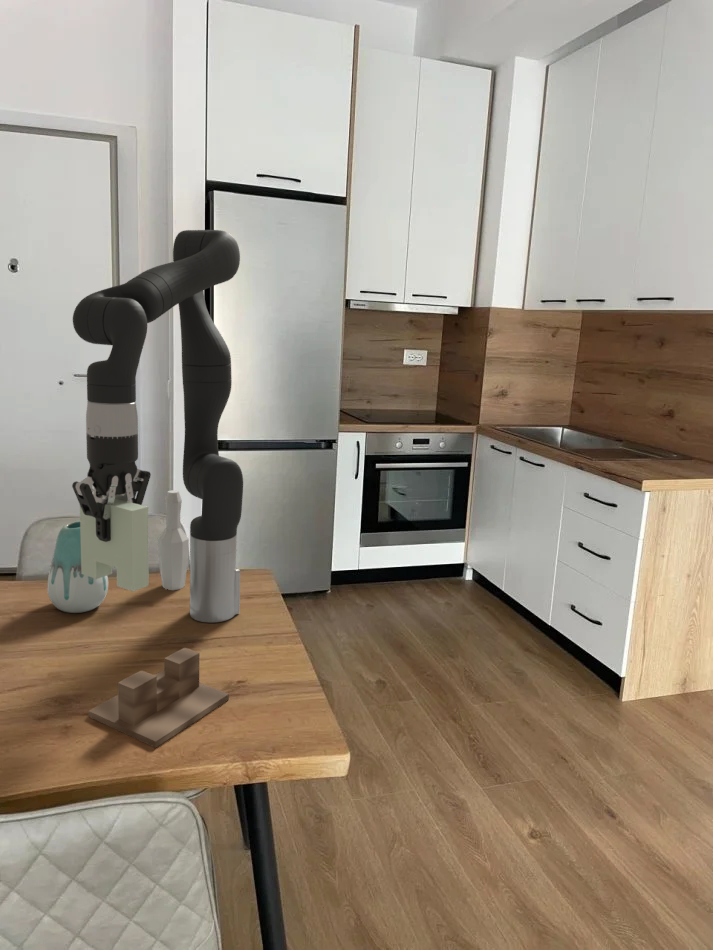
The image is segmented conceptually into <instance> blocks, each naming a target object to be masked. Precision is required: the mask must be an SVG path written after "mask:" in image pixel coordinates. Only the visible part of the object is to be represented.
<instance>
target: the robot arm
mask: <svg viewBox="0 0 713 950" xmlns="http://www.w3.org/2000/svg"><path fill="white" fill-rule="evenodd" d="M239 247H240V246H239V244H238V242H237V240H236V238H235V237H234V236H233V235H232V234H231V233H229V232H227V231H225V230H219V229H187V230H182V231H179V232H178V234H177V235H176V236H175V238H174V242H173V247H172V248H173V249H172V262H168V263H163V264H160V265H157V266H154V267H151V268H149V269H147V270H144V271H142V272H141V273H139V274H137V275H136V276H134V277H133V278H131V279H129V280H128V281H126V282H125V283H122V284H119V285H114V286H110V287H108V288H104V289H101V290H98V291H95V292H93V293H90V294H88V295H86V296H85V297H83V298H82V299H81V300H80V301H79V302H78V303H77V306H76V307H75V309H74V310H73V314H72V325H73V329H74V332H75V333H76V334H77V335H78V337H80V339H81V340H83V341H85V342H86V343H90V344H93V345H103V346H104V345H105V346H112V347H111V351H110V352H109V353H110V354H109V356H108V357H107V359H104V360H98V361H94V362H92V363H90V364H89V365H88V367H87V370H86V400H87V401H86V403H87V404H86V412H85V431H86V433H85V434H86V459H87V461H88V463H89V469H88V472H87V475H86V476H87V477H85V478H84V479H82V480H81V481H73V483H72V485H71V486H72V487H71V488H72V489H73V491H74V494H75V496H76V499H77V501H78V503H79V507H80V506H81V508H82V511H83V513H84V514H85V515H89V516H92V517H95V519H96V536H97V537H98V539H99V540H101V541H104V542H108V541H110V540H111V519H109V517H110V511H111V505H112V504H113V503H114V499H120V500H124V501H126V502H127V501H128V502H131V503H135V504H139V505H143V502H144V498H145V495H146V493H147V490H148V489H147V488H148V486H149V482H150V479H151V475H152V474H151V472H150V471H148V470H143V469H138V466H137V464H136V462H137V460H139V425H138V424H139V422H138V421H139V418H138V417H139V416H138V409H137V402H136V400H137V383H136V382H137V381H136V379H137V378H136V377H137V372H138V368H139V365H140V364H139V363H140V361H141V360H140V359H141V356H142V351H143V348H144V345H145V341H146V339H147V338H146V337H147V334H148V333H147V332H148V324H150V323H151V322H154V321H156V320H157V319H159V318H160V317H161V316H162V315H165V314H166V312H168V311H169V310H170V309H173V307H175V306H176V305H178V310H179V321H180V340H181V371H182V372H181V375H182V389H183V413H184V418H183V419H184V439H183V440H184V441H183V443H184V444H183V456H182V457H183V458H182V480H183V481H182V482H183V484H184V485H183V486H184V487H185V488H186V491H187V492H188V493H189V494H190V495H192V496H193V497H195V498H198V499H200V500H202V504H201V505H202V506H201V507H202V508H201V515H200V516H197V517H195V518H193V519H192V520H191V522H190V524H189V525H190V526H189V534H190V535H189V616H190V617H191V618H192V619H194V621H198V622H202V623H220V622H225V621H228V620H230V619H232V618H233V617H235V616H236V615H238V614H240V607H241V606H240V604H241V601H240V599H241V594H240V593H241V570H240V569H239V568H237V551H238V549H237V543H238V541H237V539H238V526H239V524H240V522H241V520H242V519H241V518H242V511H243V496H244V495H243V494H244V477H243V472H242V469H241V467H240V465H239V464H238V463H237V462H236V461H235V460H232V459H230V458H227V457H224V456H220V453H219V443H218V442H219V441H218V439H219V437H218V436H219V435H218V432H219V423H220V420H221V417H222V415H223V412H224V410H225V408H226V406H227V404H228V401H229V398H230V394H231V391H232V383H233V382H232V379H233V378H232V358H231V357H232V355H231V352H230V348H229V347H228V345H227V343H226V341H225V340H224V337H223V336H222V334H221V332H220V331H219V329H218V328H217V326H216V325H215V323H214V320H213V319H212V317H211V315H210V314H209V311H208V308H207V304H206V300H205V294H204V291H205V290H207V289H209V288H211V287H214V286H217V285H220V284H223V283H225V282H228V281H230V280H232V279H233V278H234V277H235V275H236V274H237V273H238V270H239V268H240V267H239V266H240V263H241V262H240V261H241V251H240V248H239ZM102 495H104V496H106V498H104V497H103V496H102ZM102 504H103V509H102Z"/></svg>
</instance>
